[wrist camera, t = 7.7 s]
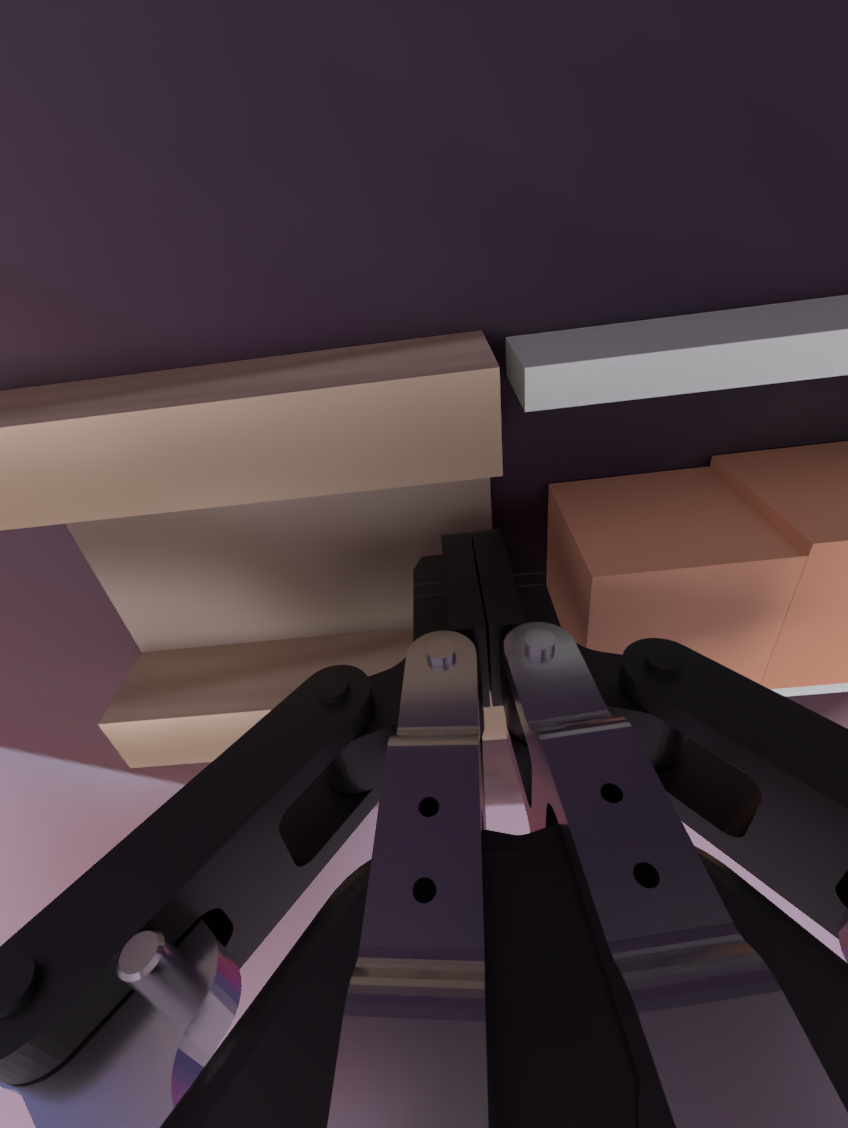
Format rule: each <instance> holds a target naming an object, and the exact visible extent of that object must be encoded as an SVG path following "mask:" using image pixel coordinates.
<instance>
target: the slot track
mask: <svg viewBox="0 0 848 1128" xmlns="http://www.w3.org/2000/svg"><path fill="white" fill-rule="evenodd" d="M499 476H503V461H502V428H501V396H500V367H499V365H498V363H497V361H496V359H495V357H494V354H493V352H492V350H491V348H490V346H489V344H488V342H487V340H486V338H485V336H484V334H483V332H482V330H479V331H471V332H463V333H455V334H447V335H439V336H432V337H424V338H416V339H408V340H400V341H392V342H384V343H376V344H368V345H360V346H352V347H344V348H336V349H328V350H320V351H312V352H304V353H296V354H288V355H280V356H272V357H264V358H256V359H248V360H240V361H232V362H224V363H216V364H208V365H200V366H192V367H185V368H177V369H169V370H161V371H153V372H145V373H137V374H129V375H121V376H113V377H105V378H97V379H89V380H81V381H73V382H65V383H57V384H49V385H41V386H33V387H25V388H17V389H9V390H1V391H0V531H1V530H10V529H19V528H28V527H37V526H47V525H56V524H66V526H67V528H68V529H69V531H70V533H71V534H72V536H73V538H74V539H75V541H76V543H77V545H78V546H79V548H80V550H81V551H82V553H83V555H84V556H85V558H86V560H87V561H88V563H89V565H90V566H91V568H92V570H93V571H94V573H95V575H96V576H97V578H98V580H99V581H100V583H101V585H102V586H103V588H104V590H105V591H106V593H107V595H108V597H109V598H110V600H111V602H112V603H113V605H114V607H115V608H116V610H117V612H118V613H119V615H120V617H121V618H122V620H123V622H124V623H125V625H126V627H127V628H128V630H129V632H130V633H131V635H132V637H133V638H134V640H135V642H136V643H137V645H138V647H139V649H140V650H141V652H142V653H141V654H140V656H139V658H138V659H137V661H136V663H135V664H134V666H133V667H132V669H131V671H130V672H129V674H128V676H127V677H126V679H125V680H124V682H123V684H122V685H121V687H120V689H119V690H118V692H117V694H116V695H115V697H114V698H113V700H112V702H111V703H110V705H109V707H108V708H107V710H106V712H105V713H104V715H103V716H102V718H101V720H100V721H99V723H98V725H99V727H100V728H101V729H102V731H103V732H104V733H105V735H106V736H107V737H108V739H109V740H110V741H111V743H112V744H113V745H114V747H115V748H116V749H117V751H118V752H119V753H120V755H121V756H122V758H123V759H124V760H125V762H126V763H127V764H128V766H129V767H130V768H138V767H151V766H164V765H177V764H189V763H202V762H213V761H214V760H215V759H216V758H217V757H218V756H219V755H221V754H222V753H223V752H224V751H225V750H226V749H228V748H229V747H230V746H231V745H232V744H233V743H234V742H236V741H237V740H238V739H239V738H240V737H241V736H242V735H244V734H245V733H246V732H247V731H248V730H249V729H250V728H252V727H253V726H254V725H255V724H256V723H257V722H258V721H260V720H261V719H262V718H263V717H264V716H265V715H266V714H268V713H269V712H270V711H271V710H272V709H273V708H275V707H276V706H277V705H278V704H279V703H280V702H281V701H283V700H284V699H285V698H286V697H287V696H288V695H289V694H291V693H292V692H293V691H294V690H295V689H296V688H297V687H299V686H300V685H301V684H302V683H303V682H304V681H305V680H307V679H308V678H309V677H310V676H311V675H313V674H314V673H316V672H318V671H319V670H321V669H324V668H326V667H330V666H334V665H351V666H355V667H357V668H359V669H361V670H362V671H364V672H365V673H366V674H367V676H371V675H374V674H377V673H380V672H382V671H385V670H387V669H390V668H392V667H394V666H395V665H397V664H398V663H400V662H401V661H402V660H403V659H404V658H405V657H406V655H407V651H408V649H409V647H410V646H411V644H412V643H413V598H414V597H413V586H414V585H413V569H414V568H415V566H416V565H417V563H418V562H419V560H420V558H421V557H422V556H432V555H442V542H441V535H443V534H453V533H462V532H470V536H471V531H481V530H491V529H492V511H491V489H490V477H499ZM471 542H472V541H471ZM489 692H490V686H489ZM484 722H485V729H484V733H483V736H482V738H483V740H496V739H507V737H506V718H505V712H504V707H503V706H494V707H493V705H492V699H491V693H490V707H484Z"/></svg>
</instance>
